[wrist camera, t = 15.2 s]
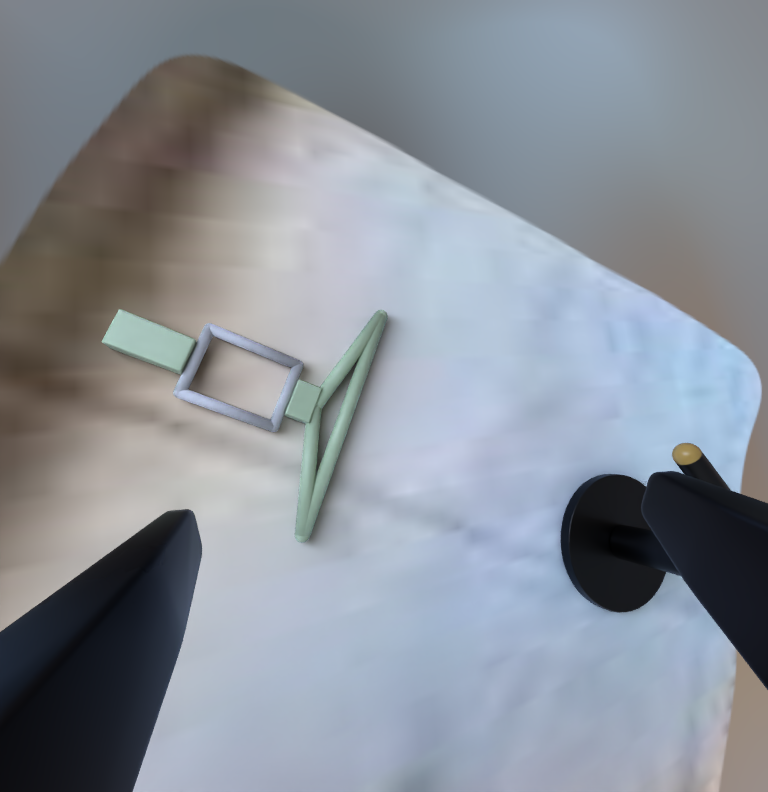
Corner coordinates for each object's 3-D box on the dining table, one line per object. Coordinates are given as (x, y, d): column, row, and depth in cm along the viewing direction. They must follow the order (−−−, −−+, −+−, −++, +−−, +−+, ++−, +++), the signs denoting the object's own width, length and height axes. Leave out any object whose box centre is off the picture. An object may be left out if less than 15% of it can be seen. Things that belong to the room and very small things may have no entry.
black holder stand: (617, 637, 24) (812, 734, 16) (498, 496, 23) (644, 521, 15) (677, 537, 27) (871, 574, 19) (574, 405, 26) (734, 382, 17)
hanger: (392, 310, 21) (174, 205, 18) (308, 546, 18) (33, 466, 15) (385, 316, 22) (177, 217, 19) (305, 542, 19) (45, 465, 16)
